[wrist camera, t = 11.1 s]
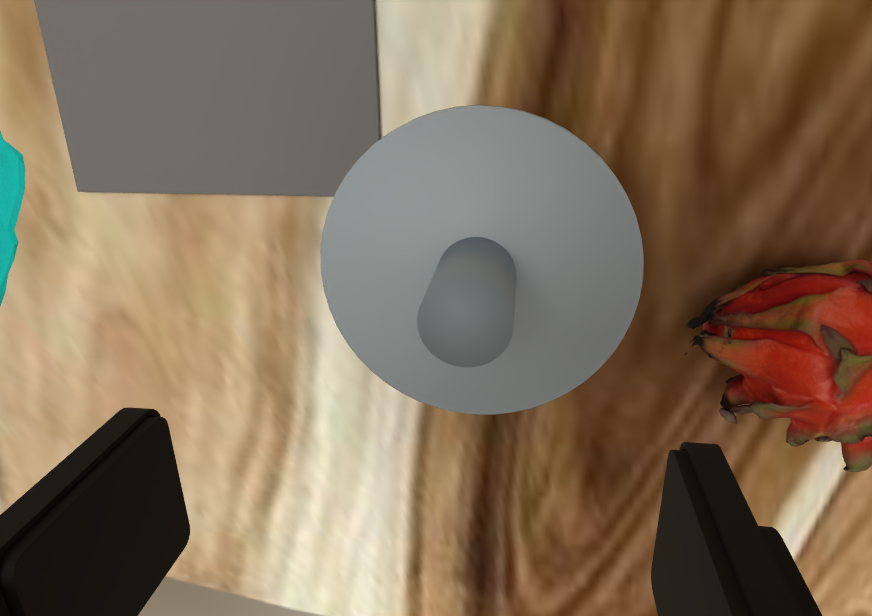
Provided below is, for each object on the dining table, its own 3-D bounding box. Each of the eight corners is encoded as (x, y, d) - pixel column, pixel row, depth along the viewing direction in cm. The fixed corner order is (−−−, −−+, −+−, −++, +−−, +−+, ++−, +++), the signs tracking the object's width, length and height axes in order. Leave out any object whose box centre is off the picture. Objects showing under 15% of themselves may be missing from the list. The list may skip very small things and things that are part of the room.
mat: (365, -211, 24) (362, -216, 24) (383, 195, 30) (381, 196, 30) (-2, -186, 26) (-9, -189, 26) (82, 190, 32) (77, 191, 32)
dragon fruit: (908, 361, 31) (673, 285, 33) (1057, 264, 24) (745, 174, 26) (911, 523, 27) (641, 424, 29) (1091, 462, 20) (716, 337, 22)
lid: (658, 103, 22) (698, 117, 17) (624, 413, 27) (647, 499, 22) (312, 106, 24) (251, 120, 19) (338, 397, 29) (296, 474, 24)
